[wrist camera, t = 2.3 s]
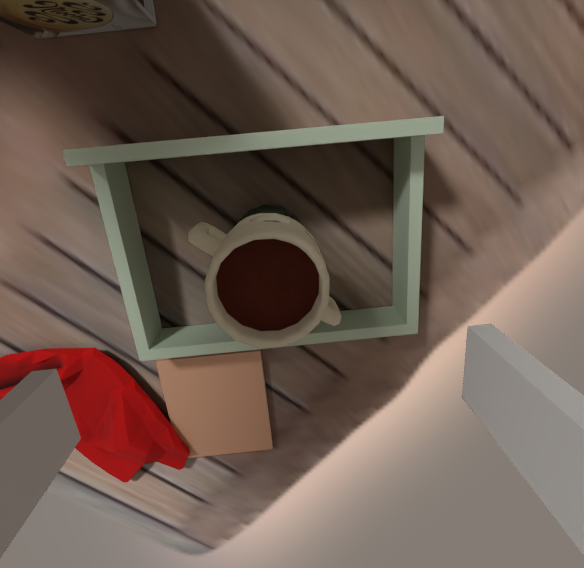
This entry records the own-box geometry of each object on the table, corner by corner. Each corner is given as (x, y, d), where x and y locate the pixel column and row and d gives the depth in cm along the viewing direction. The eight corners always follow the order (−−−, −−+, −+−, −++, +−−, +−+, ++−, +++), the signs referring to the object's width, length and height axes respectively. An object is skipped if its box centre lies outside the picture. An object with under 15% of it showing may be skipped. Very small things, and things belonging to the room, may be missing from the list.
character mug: (342, 239, 33) (384, 290, 21) (299, 301, 35) (313, 383, 23) (236, 169, 30) (212, 181, 18) (195, 241, 32) (148, 295, 20)
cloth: (223, 417, 38) (219, 433, 35) (157, 499, 41) (150, 518, 39) (-31, 274, 32) (-53, 283, 30) (-81, 384, 36) (-105, 399, 34)
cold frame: (153, 338, 35) (126, 381, 29) (108, 150, 29) (62, 149, 23) (402, 314, 36) (431, 351, 29) (406, 123, 30) (444, 116, 23)
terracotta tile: (181, 453, 40) (179, 459, 39) (158, 356, 36) (155, 361, 35) (272, 443, 40) (272, 449, 39) (260, 346, 36) (260, 351, 35)
